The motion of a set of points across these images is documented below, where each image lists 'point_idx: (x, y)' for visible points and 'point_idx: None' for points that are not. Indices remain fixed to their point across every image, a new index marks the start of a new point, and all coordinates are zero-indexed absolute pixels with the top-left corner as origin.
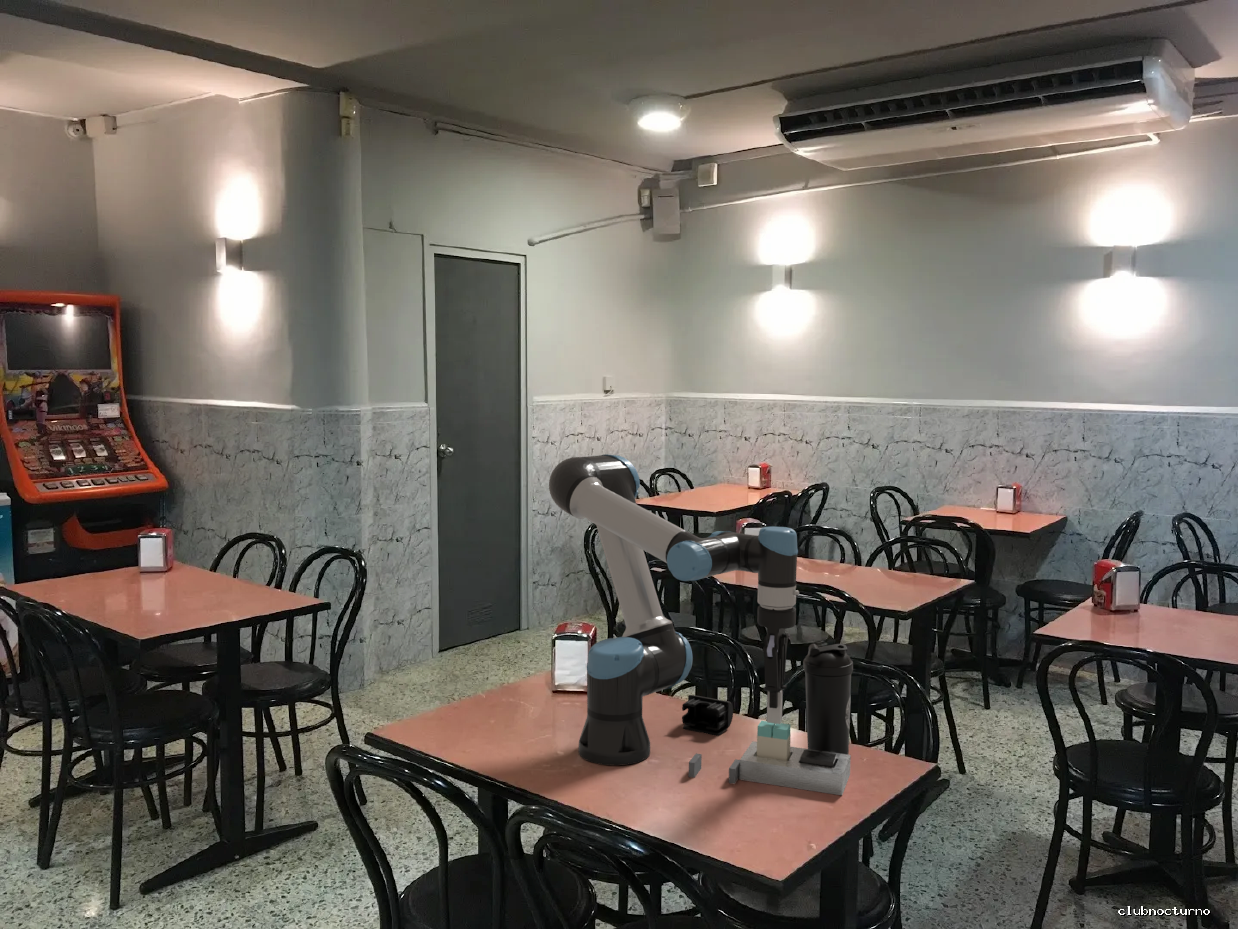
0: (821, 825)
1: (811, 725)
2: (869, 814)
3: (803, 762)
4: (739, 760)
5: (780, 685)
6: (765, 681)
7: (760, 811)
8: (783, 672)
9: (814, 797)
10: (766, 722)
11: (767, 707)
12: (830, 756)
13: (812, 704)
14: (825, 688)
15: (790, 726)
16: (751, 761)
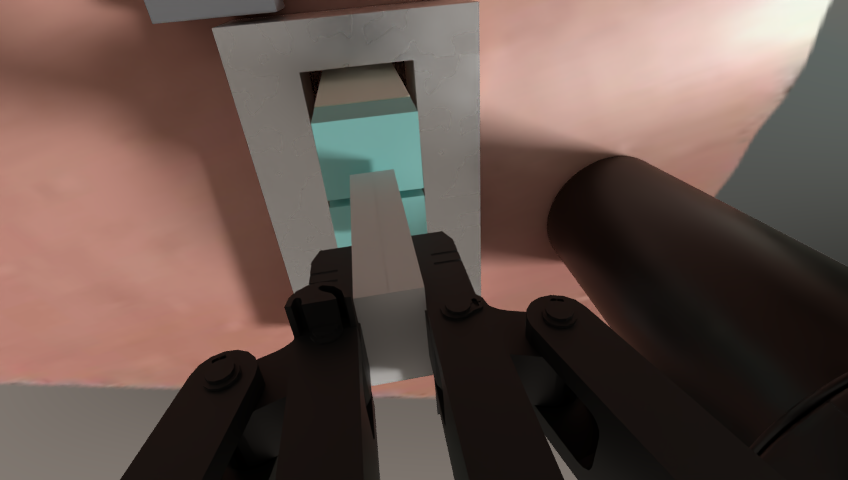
0: (104, 343)
1: (619, 230)
2: None
3: None
4: (267, 5)
5: (437, 393)
6: (129, 472)
7: (35, 189)
8: (573, 468)
9: (264, 279)
10: (398, 148)
11: (352, 220)
12: None
13: (666, 289)
14: None
15: None
16: (231, 88)
